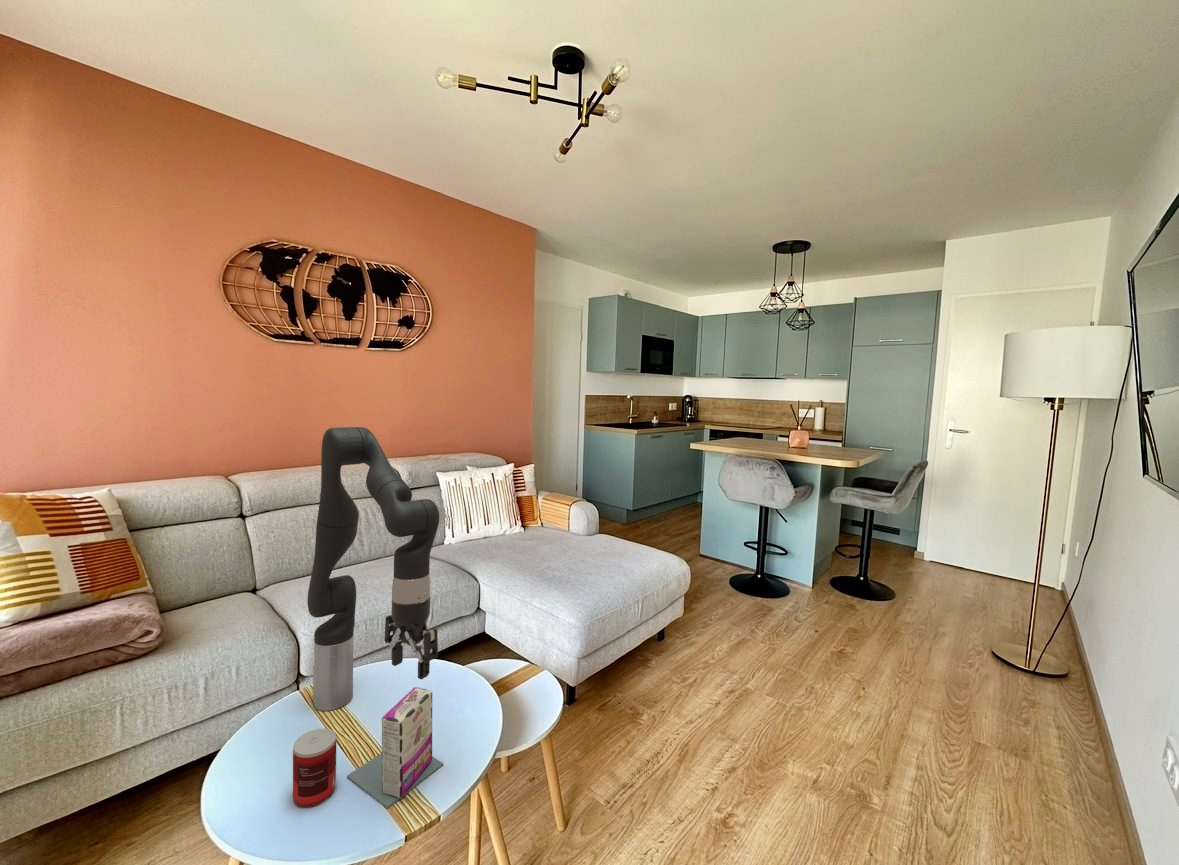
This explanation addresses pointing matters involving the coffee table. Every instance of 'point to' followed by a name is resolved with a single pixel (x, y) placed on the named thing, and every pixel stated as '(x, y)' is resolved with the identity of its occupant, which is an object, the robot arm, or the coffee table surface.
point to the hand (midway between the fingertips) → (409, 670)
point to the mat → (371, 779)
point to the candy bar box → (406, 742)
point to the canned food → (314, 767)
